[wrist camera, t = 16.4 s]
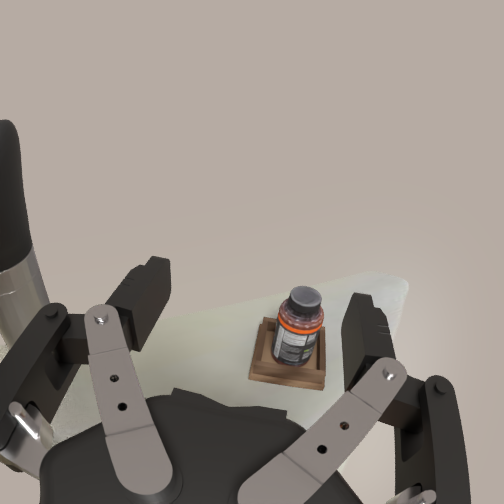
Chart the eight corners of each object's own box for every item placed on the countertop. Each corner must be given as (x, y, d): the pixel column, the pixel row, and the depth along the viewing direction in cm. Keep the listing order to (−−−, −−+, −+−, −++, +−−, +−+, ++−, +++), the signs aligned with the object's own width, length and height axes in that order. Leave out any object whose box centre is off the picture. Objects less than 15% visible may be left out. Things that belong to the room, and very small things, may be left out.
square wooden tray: (248, 379, 41) (250, 366, 40) (259, 328, 50) (261, 314, 49) (322, 390, 40) (328, 378, 39) (322, 338, 49) (327, 325, 48)
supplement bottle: (281, 334, 48) (295, 274, 42) (316, 350, 46) (336, 291, 40) (262, 358, 44) (274, 297, 38) (299, 376, 41) (320, 317, 35)
